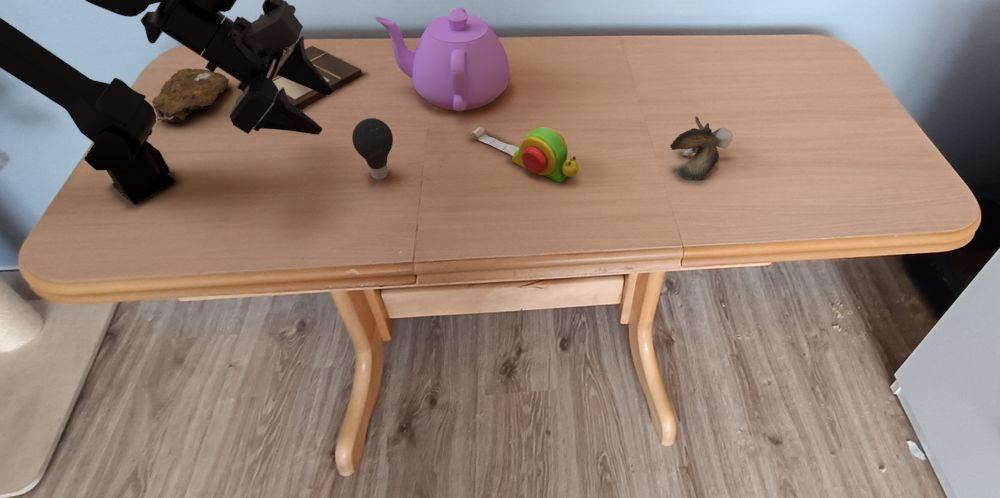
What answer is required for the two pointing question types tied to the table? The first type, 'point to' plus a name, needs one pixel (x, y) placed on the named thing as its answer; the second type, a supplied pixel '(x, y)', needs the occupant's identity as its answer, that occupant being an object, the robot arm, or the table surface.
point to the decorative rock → (188, 93)
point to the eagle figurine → (701, 149)
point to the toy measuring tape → (537, 153)
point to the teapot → (454, 61)
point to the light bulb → (373, 145)
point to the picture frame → (328, 67)
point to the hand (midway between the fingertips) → (326, 111)
